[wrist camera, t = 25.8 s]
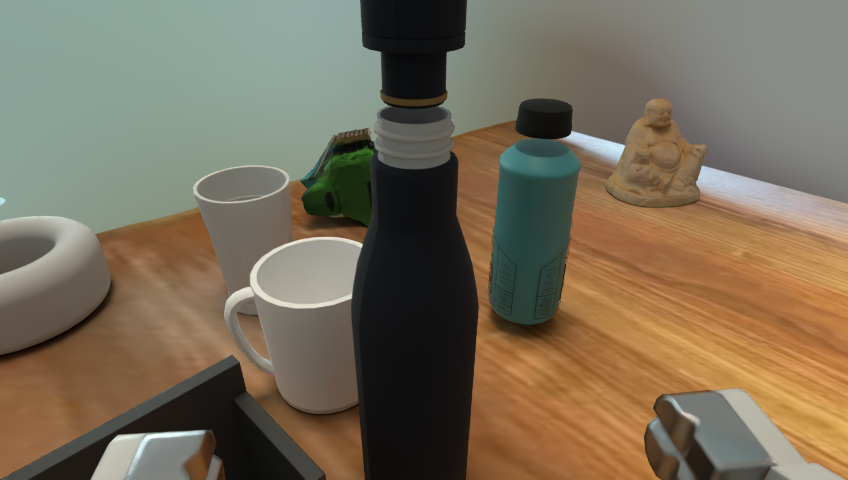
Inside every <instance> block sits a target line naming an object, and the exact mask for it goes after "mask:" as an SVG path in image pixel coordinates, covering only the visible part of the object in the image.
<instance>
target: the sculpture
mask: <svg viewBox="0 0 848 480" xmlns="http://www.w3.org/2000/svg"><path fill="white" fill-rule="evenodd" d="M370 134H371V132H370V129H369V128H365V129H361V130H354V131H350V132H349V131H347V132H343V133H339V134H338V135H337V136H335V135H334V136H333V137H332V139H331V140H330V142H329V143H328V146H327V148H326V149H325V151H324V153H323V154H322V156H321V158H320V159H319V161H318V163H317V164H316V166H315V167H314V169H313V170H311V171H310V172H309V173H308V174H307V175H306V176H305V177H304V178H303V179H301V180H300V181H301V183H302V184H303V185H304V186H305V187H306V188H308V189H307V190H306V192H305V193H304V195H303V196H302V198H301V199H302V201H303V204H304V209H305V210H306V212H307V213H308V214H309V215H319V216H326V217H333V218H335V217H350V218H352V219H353V220H358V221H361V222H362V223H363V224H364V225H366V226H367V227H369V224H370V221H371V218H372V212H373V211H372V192H371V172H370V159H371V157H372V156H373V154H374V153H375V152H377V151H378V150H376V149H375V145H374V142H372V141H371V137H370Z"/></svg>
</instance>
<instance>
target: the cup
mask: <svg viewBox="0 0 848 480" xmlns="http://www.w3.org/2000/svg"><path fill="white" fill-rule="evenodd" d="M193 192H194V195H195V198H196V201H197V204H198V207H199V209H200V212H201V215H202V218H203V221H204V223H205V226H206V227H207V229H208V232H209V235H210V238H211V241H212V244H213V247H214V250H215V253H216V256H217V259H218V262H219V265H220V268H221V271H222V274H223V277H224V280H225V283H226V286H227V289H228V295H229V297H230V296H231V295H232V294H233V293H234V292H236V291H239V290H241V289H243V288H246V287H251V285H250V274H251V272H252V269H253V267H254V265H255V264H256V263H257V262H258V261H259V260H260V259H261V258H262V257H263V256H264V255H266V254H267V253H269V252H270V251H272V250H273V249H275V248H278V247H280V246H282V245H285V244H287V243H290V242H293V236H292V218H291V197H290V178H289V175H288V174H287V173H286V172H284V171H283V170H280V169H278V168H274V167H269V166H257V165H256V166H255V165H254V166H253V165H252V166H239V167H233V168H228V169H224V170H220V171H217V172H214V173H212V174H209V175H207V176H206V177H203V178H202V179H200V180H199V181H198V182H197V183H196V184H195V186H194V188H193ZM238 312H241V313H244V314H249V315H258V312H257V308H256V304H255V301H254V300H250V301H248V302H246V303H244V304H242V305H241V307H240V308H239V309H238Z"/></svg>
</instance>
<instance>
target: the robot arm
mask: <svg viewBox="0 0 848 480" xmlns="http://www.w3.org/2000/svg"><path fill="white" fill-rule="evenodd" d="M653 409H654V411H655V412H656V414H657V417H656V418H655V419H654V420H652V421H651V422H650V423H649V424H648V425H647V428H646V432H645V435H644V442H645V452H646V455H647V458H648V461H649V464H650V465H651V467H652V469H653V471H654V473H655V475H656V476H657V477H658V478H660V479H661V480H845V479H843V478H841V477H840V476H838V475H836V474H834V473H833V472H831V471H829V470H828V469H826V468H824V467H822V466H821V465H819V464H817V463H807V462H806V460H805V459H804V458H803V457H802V456H801V455H800V453H799V452H798V451H797V450H796V449H795V448H794V446H793V445H792V444H791V443H790V442H789V441H788V439H787V438H786V437H785V436H784V435H783V434H782V432H781V431H780V430H779V429H778V428H777V427H776V425H775V424H774V423H773V422H772V421H771V420H770V418H769V417H768V416H767V415H766V414H765V413H764V411H763V410H762V409H761V408H760V407H759V406H758V404H757V403H756V402H755V401H754V400H753V399H752V397H751V396H750V395H749V394H748V393H747V392H745V391H744V390H742V389H740V388H738V389H724V390H713V391H710V390H705V391H694V392H683V393H672V394H662V395H661V396H660V397H658V398H657V399H656V402H655V405H654V407H653ZM215 446H216V440H215V437H214V434H213V431H212V430H196V431H176V432H156V433H141V434H125V435H117V436H116V437H115V438H114V439H113V440H112V441H111V442H110V443H109V444H108V446H107V448H106V450H105V452H104V454H103V456H102V458H101V460H100V462H99V464H98V466H97V468H96V470H95V472H94V474H93V476H92V478H91V480H225V472H224V466H223V463H222V459H220V458H219V457H217V456H216V455H214V454H213V453H214V450H215Z"/></svg>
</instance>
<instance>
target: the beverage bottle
mask: <svg viewBox="0 0 848 480" xmlns="http://www.w3.org/2000/svg"><path fill="white" fill-rule="evenodd" d="M572 111H573V110H572V106H571V105H570V104H568V103H566V102H563V101H559V100H554V99H530V100H526V101H523V102H522V103H521V104H520V106H519V112H518V117H517V121H516V127H515V129H516V131H517V132H518V133H520V134H522V135H524V136H528V137H532V138H538V139H525V140H521V141H518V142H517V143H515V144H514V145H512V146H511V147H510V148H508V149H507V150H506V151H505V152H504V153H503V154H502V155H501V156H500V160H499V165H500V171H499V183H498V195H497V207H496V216H495V227H494V231H493V232H494V233H493V232H492V233H493V234H494V240H493V241H492V242H491V245H492V244H493V253H492V254H491V255H492V263H491V262H490V266H491V277H490V273H489V282H490V285H489V286H490V288H489V287H488V288H489V289H490V290H489V291H490V296H489V297H490V300H489V301H490V303H491V306H492V308H493V310H494V311H495V312H496V313H497V314H498V315H499V316H501V317H502V318H504V319H506V320H508V321H511V322H514V323H518V324H525V325H532V324H539V323H542V322H545V321H547V320H549V319H550V318H551V317H552V316H553V315H554V314H555V312H556V310H558V309H557V308H558V306H559V304H560V303H559V300H560V299H561V292H562V287H563V284H564V283H563V281H564V275H565V268H566V263H565V260H566V258H567V259H568V257H566V254H567V248H568V246H569V245H570V243H569V245H568V242H569V241H570V240H569V239H571V236H570V238H569V235H570V229H571V219H572V213H573V206H574V200H575V194H576V187H577V181H578V174H579V171H580V168H581V163H580V161H579V159H578V157H577V156H576V155H575V154H574V153H573V152H572V151H571V149H569V148H568V147H567V146H566V145H564V144H562V143H560V142H557V141H553V140H548V139H559V138H564V137H567V136H569V135H570V134H571V129H572ZM493 218H494V217H493ZM572 229H573V223H572ZM492 239H493V238H492ZM569 248H570V247H569ZM568 251H569V250H568ZM568 254H569V253H568ZM566 261H567V260H566ZM564 266H565V268H564ZM563 272H564V274H563ZM562 278H563V279H562ZM490 280H491V281H490ZM488 294H489V293H488ZM559 297H560V298H559ZM560 302H561V301H560ZM558 303H559V304H558ZM559 307H560V306H559Z"/></svg>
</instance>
